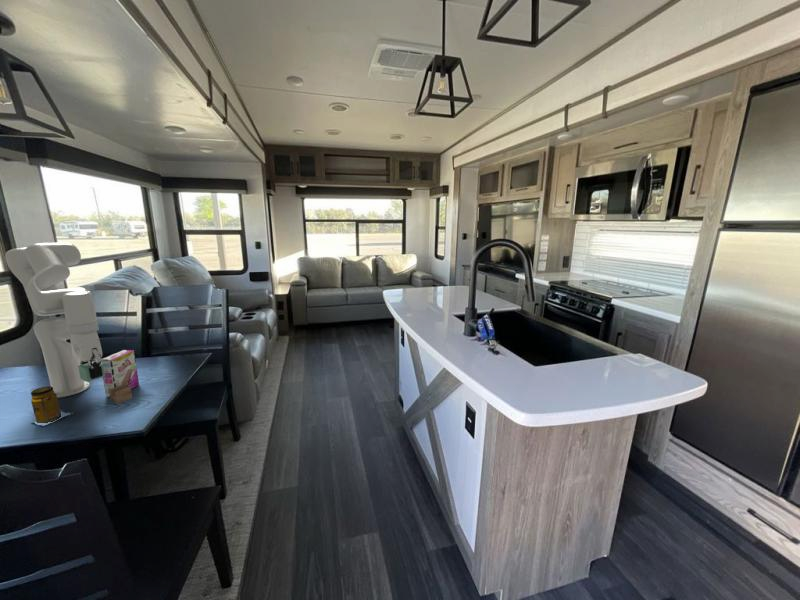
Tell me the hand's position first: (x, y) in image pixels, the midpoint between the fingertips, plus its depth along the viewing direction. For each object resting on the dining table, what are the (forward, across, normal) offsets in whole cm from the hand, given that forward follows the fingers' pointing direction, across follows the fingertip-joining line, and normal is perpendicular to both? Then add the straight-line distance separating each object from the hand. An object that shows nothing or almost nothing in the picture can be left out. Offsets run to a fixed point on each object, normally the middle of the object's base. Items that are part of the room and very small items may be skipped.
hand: (92, 375), depth 116 cm
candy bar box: (+16, -12, +13) cm, 24 cm away
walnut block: (+16, -5, +9) cm, 19 cm away
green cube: (+1, 0, 0) cm, 1 cm away
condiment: (+16, -11, -9) cm, 22 cm away
